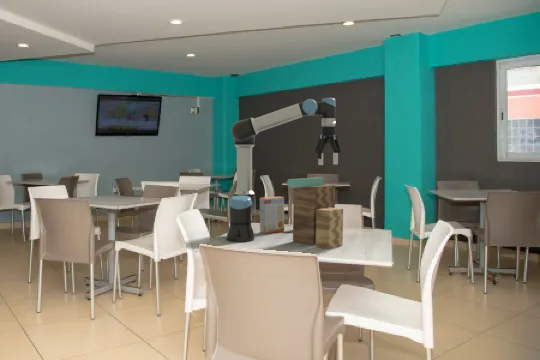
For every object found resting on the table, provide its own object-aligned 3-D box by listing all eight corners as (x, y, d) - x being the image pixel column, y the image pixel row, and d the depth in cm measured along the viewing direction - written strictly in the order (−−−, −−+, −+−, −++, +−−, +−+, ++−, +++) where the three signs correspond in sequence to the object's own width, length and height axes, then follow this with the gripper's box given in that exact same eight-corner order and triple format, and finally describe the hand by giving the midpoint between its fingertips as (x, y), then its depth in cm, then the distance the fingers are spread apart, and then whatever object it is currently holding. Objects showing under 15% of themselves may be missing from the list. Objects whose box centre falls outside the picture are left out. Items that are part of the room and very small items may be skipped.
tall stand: (313, 245, 249) (314, 187, 247) (292, 241, 259) (293, 185, 257) (334, 240, 262) (335, 185, 260) (313, 237, 272) (314, 184, 270)
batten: (294, 187, 243) (294, 179, 243) (288, 187, 246) (288, 179, 246) (323, 185, 261) (323, 177, 260) (317, 184, 263) (317, 177, 263)
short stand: (328, 249, 240) (329, 210, 239) (315, 246, 245) (316, 209, 244) (342, 245, 249) (343, 208, 247) (329, 243, 254) (330, 207, 253)
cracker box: (278, 230, 294) (279, 196, 292) (284, 232, 289) (284, 197, 287) (259, 232, 286) (259, 197, 285) (264, 234, 281) (264, 198, 280)
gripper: (320, 125, 256) (319, 165, 258) (347, 126, 274) (346, 164, 276) (309, 125, 261) (308, 165, 263) (336, 127, 279) (335, 164, 281)
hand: (328, 164), depth 269 cm, fingers open, 13 cm apart
